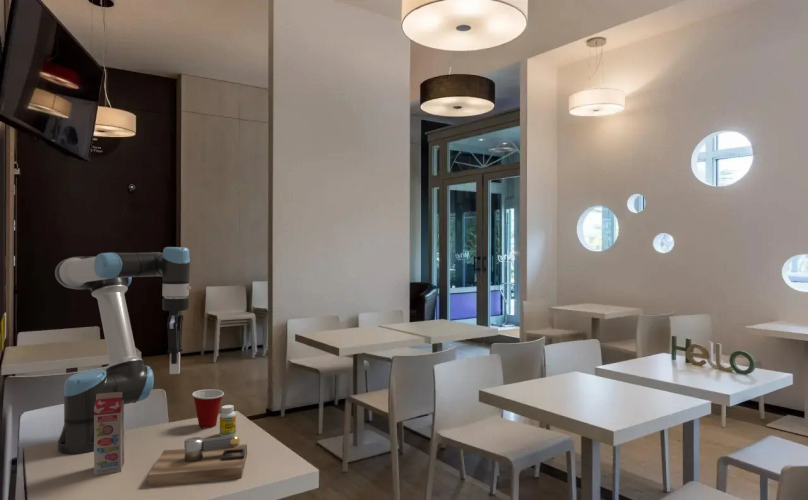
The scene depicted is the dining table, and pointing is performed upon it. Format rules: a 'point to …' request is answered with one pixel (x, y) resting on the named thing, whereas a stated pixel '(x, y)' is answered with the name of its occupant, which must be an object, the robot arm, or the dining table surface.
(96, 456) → the juice carton
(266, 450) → the dining table surface
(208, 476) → the lever stand
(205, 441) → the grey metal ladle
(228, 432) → the supplement bottle
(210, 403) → the plastic cup
